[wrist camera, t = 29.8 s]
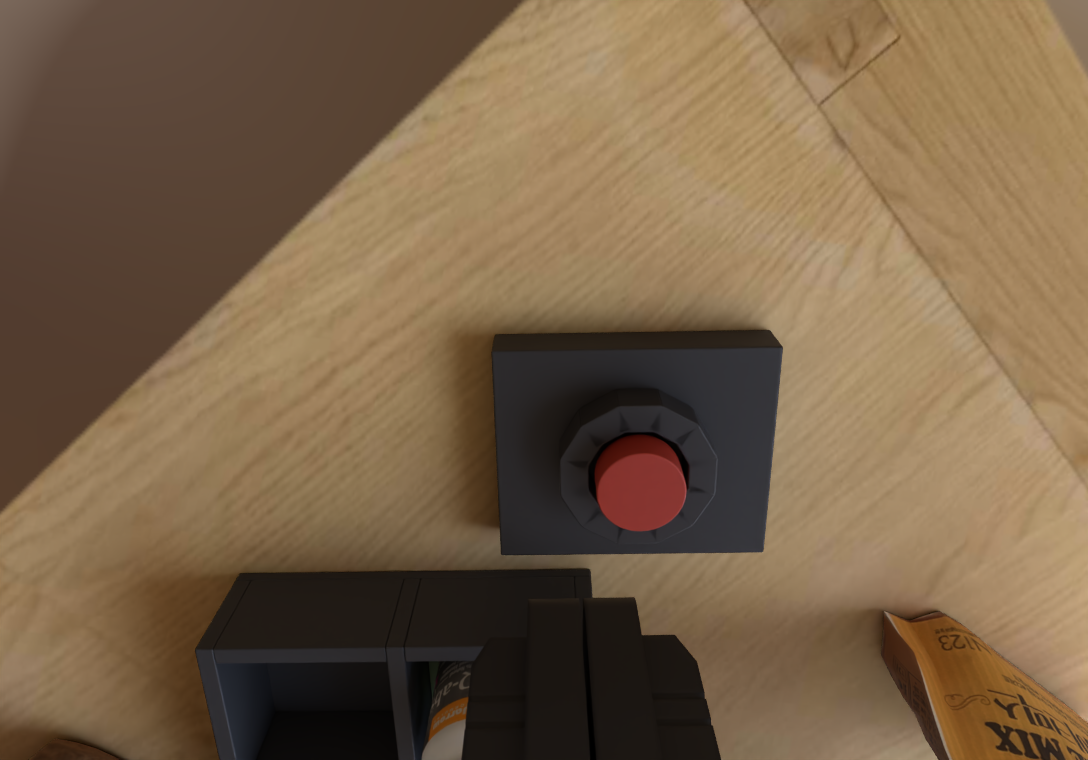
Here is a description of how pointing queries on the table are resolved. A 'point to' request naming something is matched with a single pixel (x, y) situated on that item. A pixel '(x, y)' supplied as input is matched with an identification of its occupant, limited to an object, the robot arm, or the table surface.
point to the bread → (70, 752)
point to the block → (629, 409)
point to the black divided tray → (353, 655)
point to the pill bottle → (448, 712)
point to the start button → (639, 483)
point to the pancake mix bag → (976, 696)
